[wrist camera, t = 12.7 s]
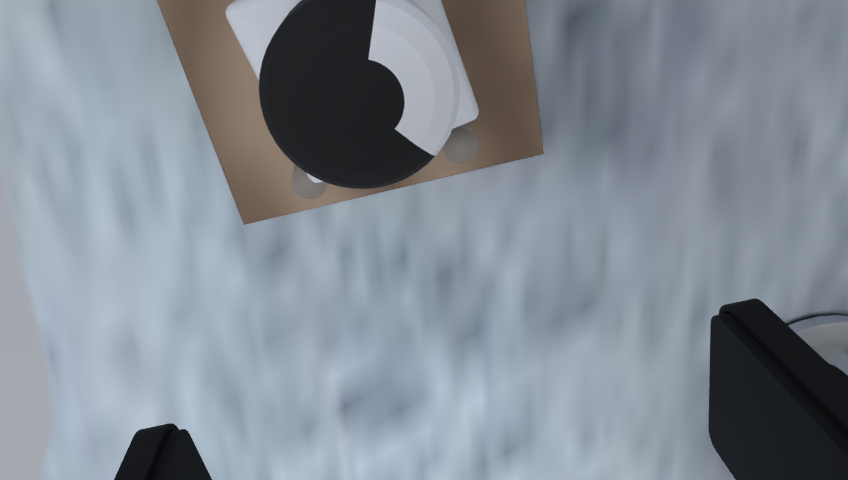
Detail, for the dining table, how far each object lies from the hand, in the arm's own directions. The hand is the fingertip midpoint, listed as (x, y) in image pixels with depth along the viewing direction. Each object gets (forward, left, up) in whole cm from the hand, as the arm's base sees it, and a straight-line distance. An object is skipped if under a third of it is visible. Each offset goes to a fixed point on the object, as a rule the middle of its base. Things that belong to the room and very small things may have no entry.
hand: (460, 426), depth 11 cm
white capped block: (+1, -3, -22) cm, 22 cm away
